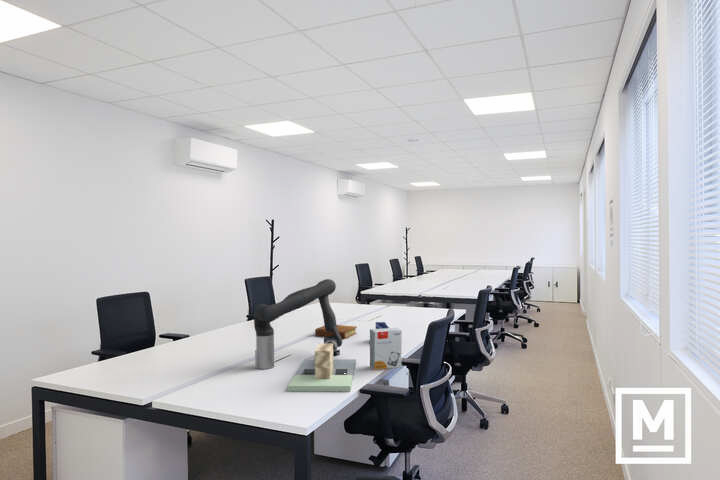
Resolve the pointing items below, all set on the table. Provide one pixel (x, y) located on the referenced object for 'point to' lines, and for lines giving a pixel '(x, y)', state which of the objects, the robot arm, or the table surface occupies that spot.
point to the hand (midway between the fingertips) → (326, 356)
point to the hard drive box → (385, 348)
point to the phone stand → (381, 325)
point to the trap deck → (337, 382)
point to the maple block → (324, 361)
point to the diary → (343, 331)
